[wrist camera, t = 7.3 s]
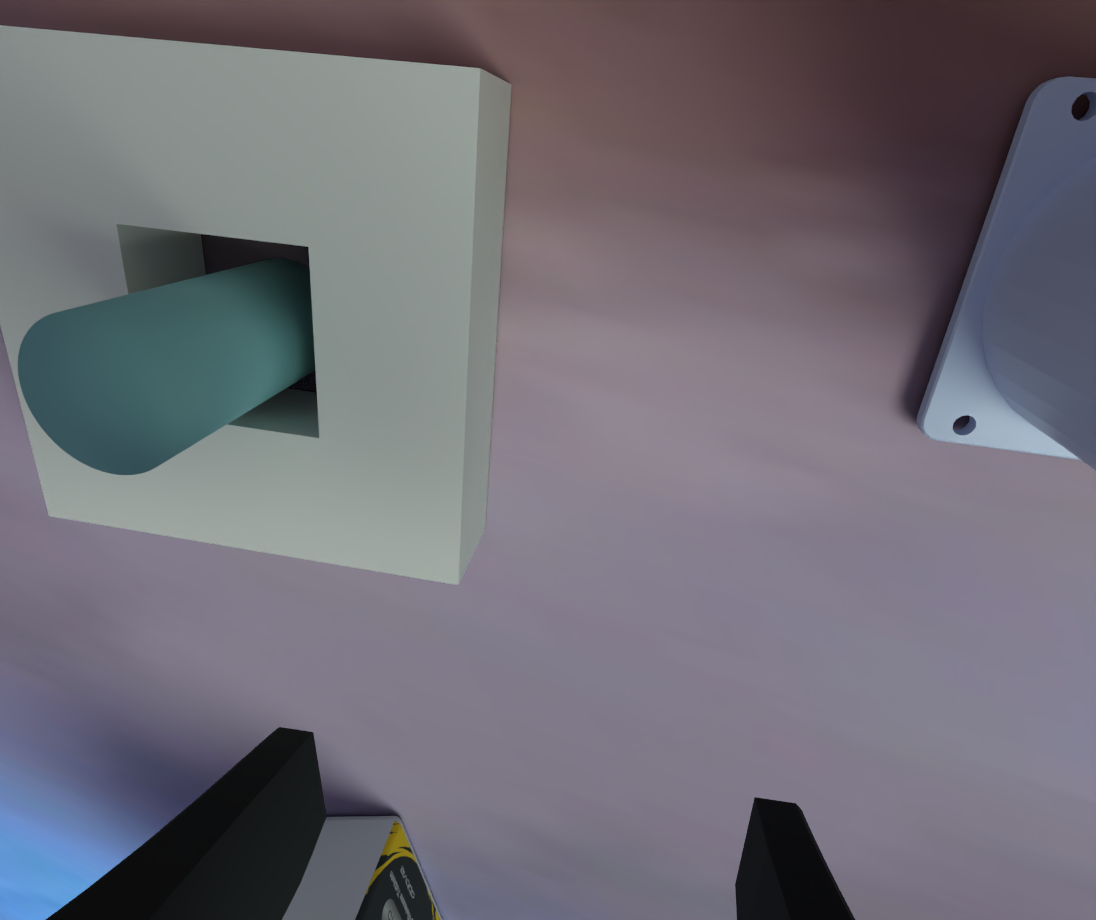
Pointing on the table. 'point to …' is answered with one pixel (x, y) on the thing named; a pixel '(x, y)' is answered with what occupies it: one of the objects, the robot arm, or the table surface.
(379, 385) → the socket slab
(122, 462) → the peg
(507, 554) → the table surface
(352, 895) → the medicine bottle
